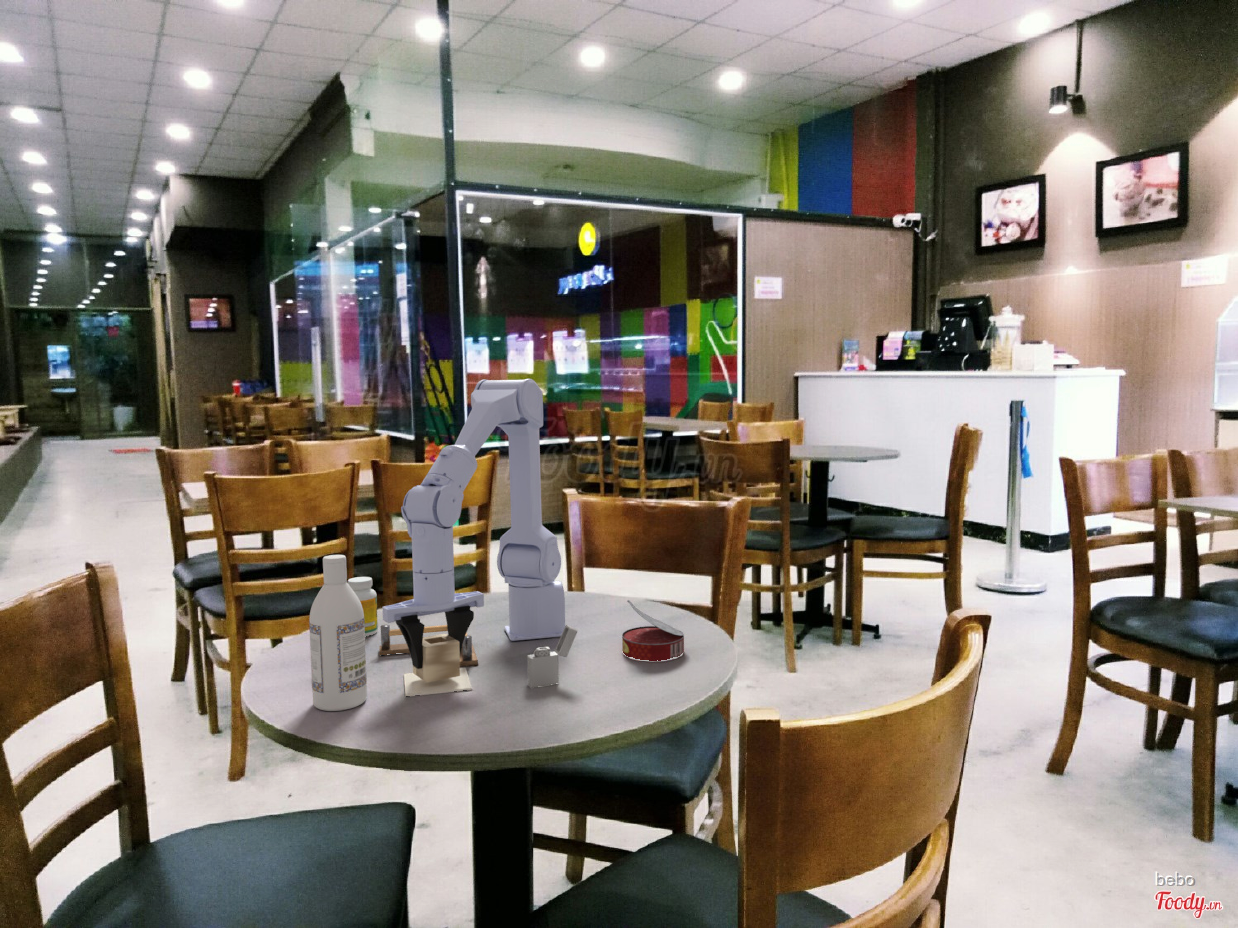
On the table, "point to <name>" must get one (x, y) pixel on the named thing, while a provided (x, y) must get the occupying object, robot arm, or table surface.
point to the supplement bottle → (366, 602)
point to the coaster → (436, 684)
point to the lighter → (549, 660)
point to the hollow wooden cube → (439, 658)
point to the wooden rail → (467, 650)
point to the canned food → (652, 640)
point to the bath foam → (337, 641)
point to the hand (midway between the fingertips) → (436, 662)
